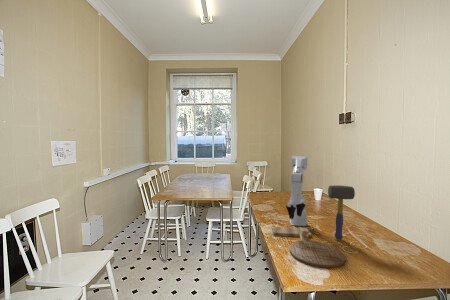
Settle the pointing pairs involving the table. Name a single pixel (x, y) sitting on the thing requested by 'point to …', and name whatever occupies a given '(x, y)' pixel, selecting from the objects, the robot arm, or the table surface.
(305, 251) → the trivet
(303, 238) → the beige block with handle
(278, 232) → the board
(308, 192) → the table surface
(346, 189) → the rubber mallet
